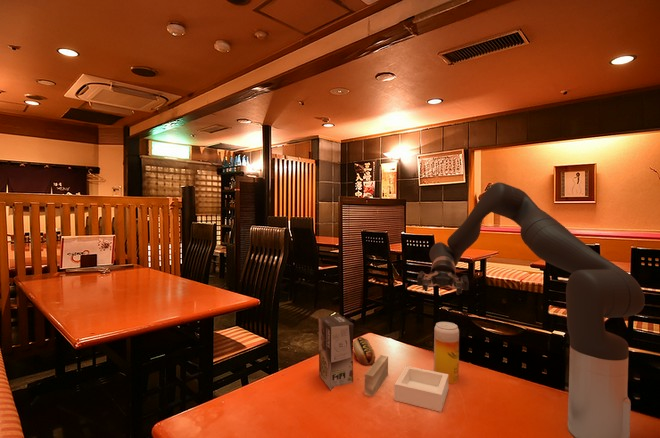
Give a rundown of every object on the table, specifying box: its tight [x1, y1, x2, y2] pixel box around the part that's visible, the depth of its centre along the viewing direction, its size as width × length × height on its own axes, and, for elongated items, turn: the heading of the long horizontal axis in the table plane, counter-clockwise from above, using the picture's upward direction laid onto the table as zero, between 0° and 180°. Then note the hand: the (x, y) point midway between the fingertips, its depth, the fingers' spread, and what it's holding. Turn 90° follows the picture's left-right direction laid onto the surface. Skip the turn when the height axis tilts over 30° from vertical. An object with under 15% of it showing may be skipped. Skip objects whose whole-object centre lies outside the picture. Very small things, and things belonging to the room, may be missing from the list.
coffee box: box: [318, 314, 354, 391], centre depth 93 cm, size 9×6×16 cm
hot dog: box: [353, 336, 376, 366], centre depth 106 cm, size 5×13×5 cm, turn 6°
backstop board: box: [364, 355, 389, 398], centre depth 85 cm, size 20×12×6 cm, turn 64°
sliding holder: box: [393, 365, 449, 413], centre depth 84 cm, size 10×10×4 cm
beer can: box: [433, 321, 460, 385], centre depth 92 cm, size 6×6×15 cm
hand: (441, 289), depth 99 cm, fingers open, 8 cm apart
